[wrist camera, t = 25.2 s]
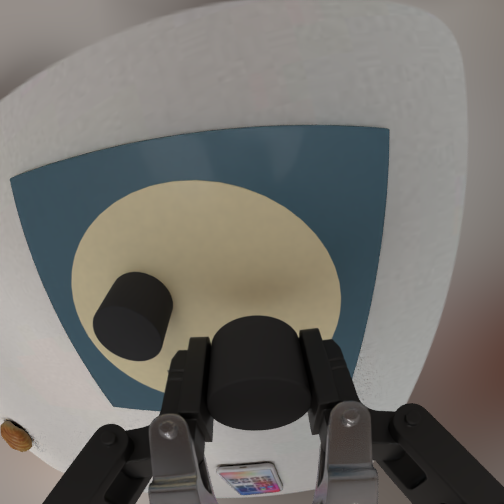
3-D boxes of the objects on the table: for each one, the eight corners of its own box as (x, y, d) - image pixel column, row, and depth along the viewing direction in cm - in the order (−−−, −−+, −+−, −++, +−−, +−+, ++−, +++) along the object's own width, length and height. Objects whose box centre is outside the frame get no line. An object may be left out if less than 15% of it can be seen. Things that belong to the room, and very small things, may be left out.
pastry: (0, 411, 26) (-7, 428, 23) (33, 432, 28) (27, 450, 25) (5, 426, 29) (-1, 440, 26) (34, 444, 31) (29, 459, 28)
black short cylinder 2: (204, 317, 10) (195, 380, 8) (301, 310, 10) (317, 371, 8) (217, 376, 12) (215, 432, 9) (297, 370, 12) (308, 425, 9)
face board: (15, 175, 12) (7, 179, 11) (384, 128, 12) (391, 129, 11) (114, 401, 21) (112, 408, 20) (344, 393, 21) (346, 401, 20)
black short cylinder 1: (104, 273, 14) (81, 306, 11) (165, 269, 14) (150, 305, 11) (123, 324, 16) (107, 360, 13) (179, 323, 16) (170, 362, 13)
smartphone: (274, 467, 26) (284, 491, 33) (273, 460, 27) (283, 486, 34) (213, 471, 27) (238, 495, 33) (213, 465, 27) (238, 491, 34)
